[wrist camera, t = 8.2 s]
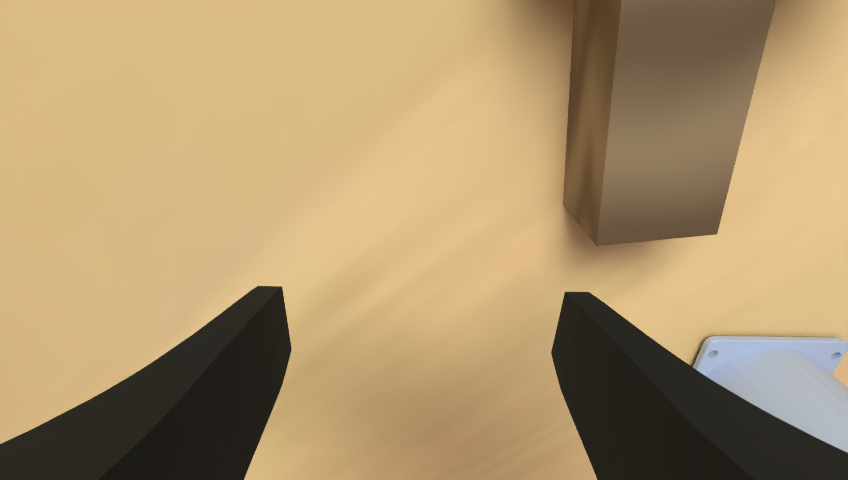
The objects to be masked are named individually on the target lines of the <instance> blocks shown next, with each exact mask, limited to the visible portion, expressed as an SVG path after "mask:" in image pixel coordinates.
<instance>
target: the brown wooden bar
mask: <svg viewBox="0 0 848 480" xmlns="http://www.w3.org/2000/svg"><path fill="white" fill-rule="evenodd" d="M775 2H776V0H575V2H574V20H573V37H572V55H571V73H570V91H569V109H568V126H567V144H566V162H565V180H564V197H563V204H564V205H565V207H566V208H567V209H568V210H569V212H570V213H571V214H572V215H573V217H574V218H575V219H576V220H577V222H578V223H579V224H580V226H581V227H582V228H583V229H584V231H585V232H586V233H587V234H588V236H589V237H590V238H591V239H592V241H593V242H594V243H595V244H596V246H598V245H609V244H619V243H630V242H640V241H651V240H662V239H672V238H683V237H693V236H704V235H714V234H717V232H718V228H719V224H720V220H721V216H722V212H723V208H724V204H725V200H726V196H727V192H728V188H729V184H730V180H731V176H732V172H733V169H734V165H735V161H736V157H737V153H738V149H739V145H740V141H741V137H742V133H743V129H744V125H745V121H746V117H747V113H748V109H749V105H750V101H751V97H752V93H753V89H754V85H755V81H756V77H757V73H758V69H759V65H760V61H761V57H762V53H763V49H764V45H765V41H766V37H767V33H768V29H769V25H770V21H771V17H772V13H773V9H774V6H775Z"/></svg>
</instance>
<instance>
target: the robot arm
mask: <svg viewBox="0 0 848 480" xmlns="http://www.w3.org/2000/svg"><path fill="white" fill-rule="evenodd" d="M847 350H848V342H846V341H845V340H844V339H842V338H823V337H760V336H711V337H709V338H707V339H706V340H705V341H704V343H703V345H702V348H701V350H700V352H699V354H698V357H697V359H696V361H695V363H694V366H693V367H691V366H690V365H688V364H687V363H685V362H684V361H682V360H681V359H680V358H678V357H677V356H675V355H674V354H672V353H671V352H669V351H668V350H667V349H665V348H664V347H662V346H661V345H660V344H658V343H657V342H655V341H654V340H653V339H651V338H650V337H649V336H647V335H646V334H645V333H643V332H642V331H641V330H639V329H638V328H637V327H635V326H634V325H633V324H631V323H630V322H629V321H627V320H626V319H625V318H623V317H622V316H621V315H619V314H618V313H617V312H616V311H614V310H613V309H612V308H610V307H609V306H608V305H606V304H605V303H604V302H602V301H601V300H599V299H598V298H597V297H595V296H594V295H592V294H591V293H589V292H565V295H564V299H563V303H562V308H561V312H560V317H559V321H558V326H557V330H556V334H555V339H554V343H553V348H552V352H551V354H552V358H553V362H554V366H555V370H556V374H557V377H558V381H559V385H560V388H561V391H562V393H563V396H564V399H565V401H566V404H567V406H568V409H569V411H570V413H571V416H572V418H573V421H574V423H575V426H576V428H577V431H578V433H579V435H580V438H581V440H582V443H583V445H584V447H585V450H586V452H587V455H588V457H589V460H590V462H591V464H592V467H593V469H594V472H595V474H596V477H597V480H848V388H847V387H846V386H845V385H844V384H843V383H841V382H840V381H839V380H838V379H837V378H835V377H834V376H833V375H832V373H833V371H834V370H835V368H836V367H837V365H838V364H839V362H840V361H841V359H842V358H843V356H844V355H845V353H846V352H847ZM290 353H291V343H290V336H289V330H288V323H287V316H286V310H285V303H284V297H283V290H282V287H274V286H257V287H256V288H254V289H253V290H251V291H250V292H249V293H247V294H246V295H245V296H243V297H242V298H241V299H239V300H238V301H237V302H235V303H234V304H233V305H232V306H230V307H229V308H228V309H226V310H225V311H224V312H222V313H221V314H220V315H218V316H217V317H216V318H214V319H213V320H212V321H210V322H209V323H208V324H206V325H205V326H204V327H202V328H201V329H200V330H198V331H197V332H196V333H194V334H193V335H192V336H190V337H189V338H187V339H186V340H184V341H183V342H181V343H180V344H179V345H177V346H176V347H174V348H173V349H171V350H170V351H168V352H167V353H165V354H164V355H163V356H161V357H160V358H158V359H157V360H155V361H154V362H152V363H151V364H149V365H148V366H146V367H144V368H143V369H141V370H140V371H138V372H136V373H135V374H133V375H132V376H130V377H128V378H127V379H125V380H123V381H121V382H120V383H118V384H116V385H115V386H113V387H111V388H109V389H108V390H106V391H104V392H103V393H101V394H99V395H97V396H95V397H94V398H92V399H90V400H88V401H86V402H84V403H82V404H80V405H78V406H76V407H75V408H73V409H71V410H69V411H67V412H65V413H63V414H61V415H59V416H57V417H55V418H53V419H51V420H49V421H47V422H45V423H44V424H42V425H40V426H38V427H36V428H34V429H32V430H30V431H28V432H25V433H23V434H21V435H19V436H17V437H15V438H13V439H11V440H8V441H6V442H4V443H2V444H0V480H244V478H245V475H246V473H247V470H248V468H249V465H250V463H251V460H252V458H253V455H254V453H255V451H256V448H257V446H258V443H259V441H260V438H261V436H262V434H263V431H264V429H265V426H266V424H267V421H268V419H269V417H270V414H271V412H272V409H273V407H274V404H275V402H276V399H277V397H278V394H279V392H280V389H281V387H282V383H283V380H284V376H285V373H286V369H287V365H288V361H289V357H290Z"/></svg>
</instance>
